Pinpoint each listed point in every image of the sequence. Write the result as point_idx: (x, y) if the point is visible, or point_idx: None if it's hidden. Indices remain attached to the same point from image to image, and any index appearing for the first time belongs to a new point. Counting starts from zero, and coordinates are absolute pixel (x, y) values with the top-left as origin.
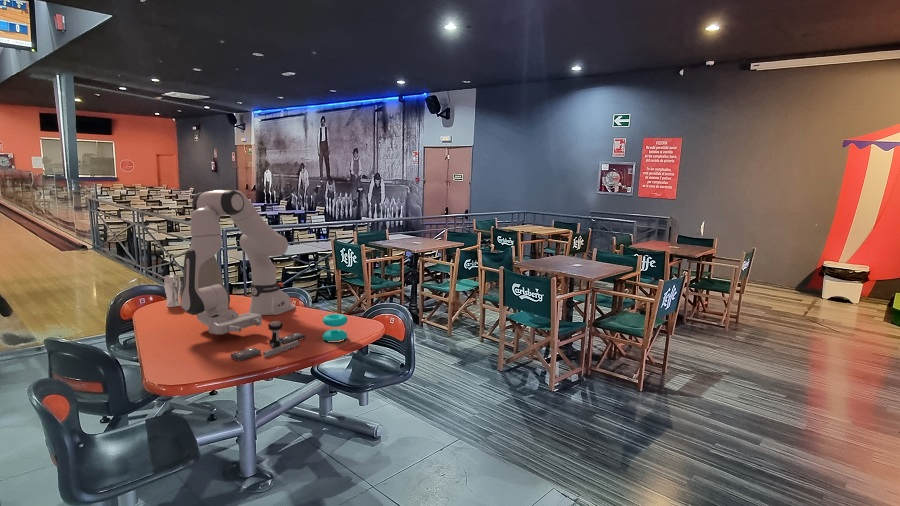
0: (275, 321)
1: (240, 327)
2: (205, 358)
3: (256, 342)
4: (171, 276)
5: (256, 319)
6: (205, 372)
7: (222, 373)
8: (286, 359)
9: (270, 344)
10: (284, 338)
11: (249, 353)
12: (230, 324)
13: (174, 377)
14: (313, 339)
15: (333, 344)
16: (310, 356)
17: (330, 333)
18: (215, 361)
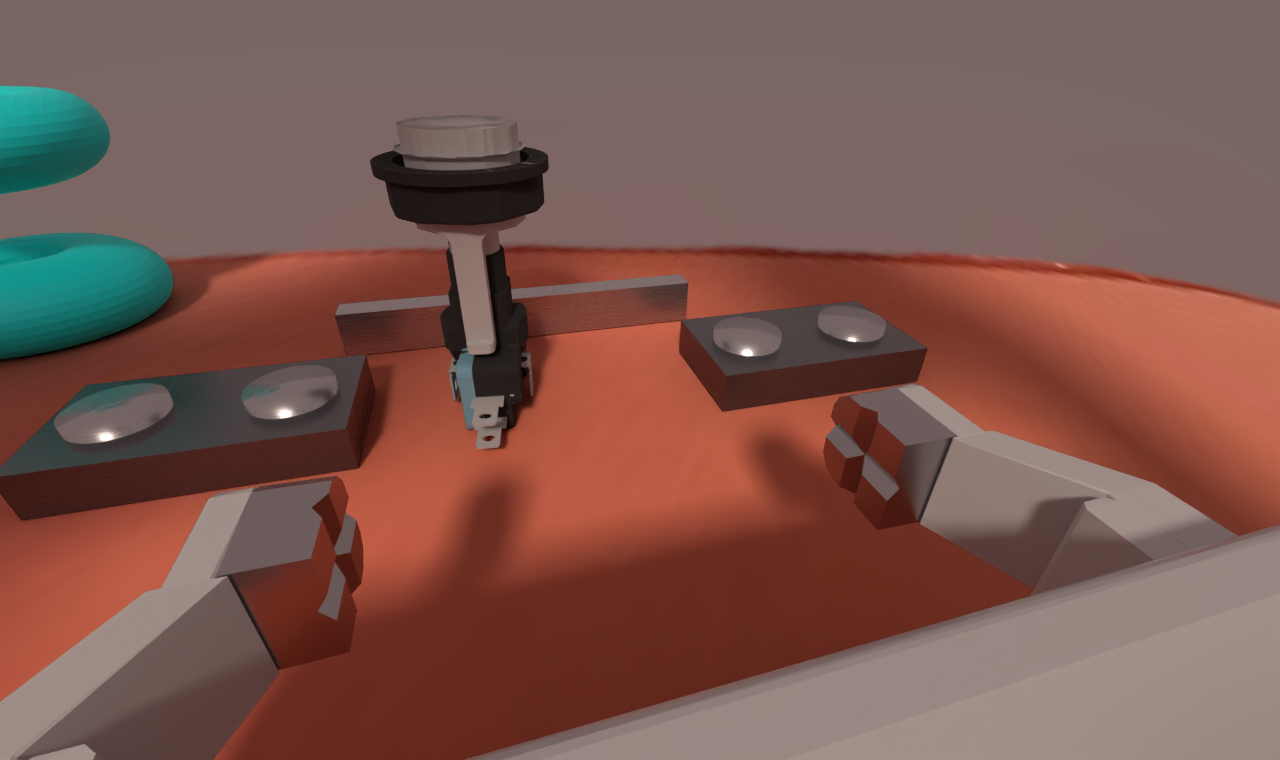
0: (430, 125)
1: (856, 394)
2: (1182, 466)
3: (558, 598)
4: None
5: (48, 722)
6: (1060, 313)
7: (949, 283)
8: (588, 270)
9: (513, 412)
10: (334, 388)
11: (779, 313)
12: (1206, 549)
13: (1252, 330)
14: (110, 381)
15: (196, 286)
16: None
17: (97, 246)
18: (1043, 388)
